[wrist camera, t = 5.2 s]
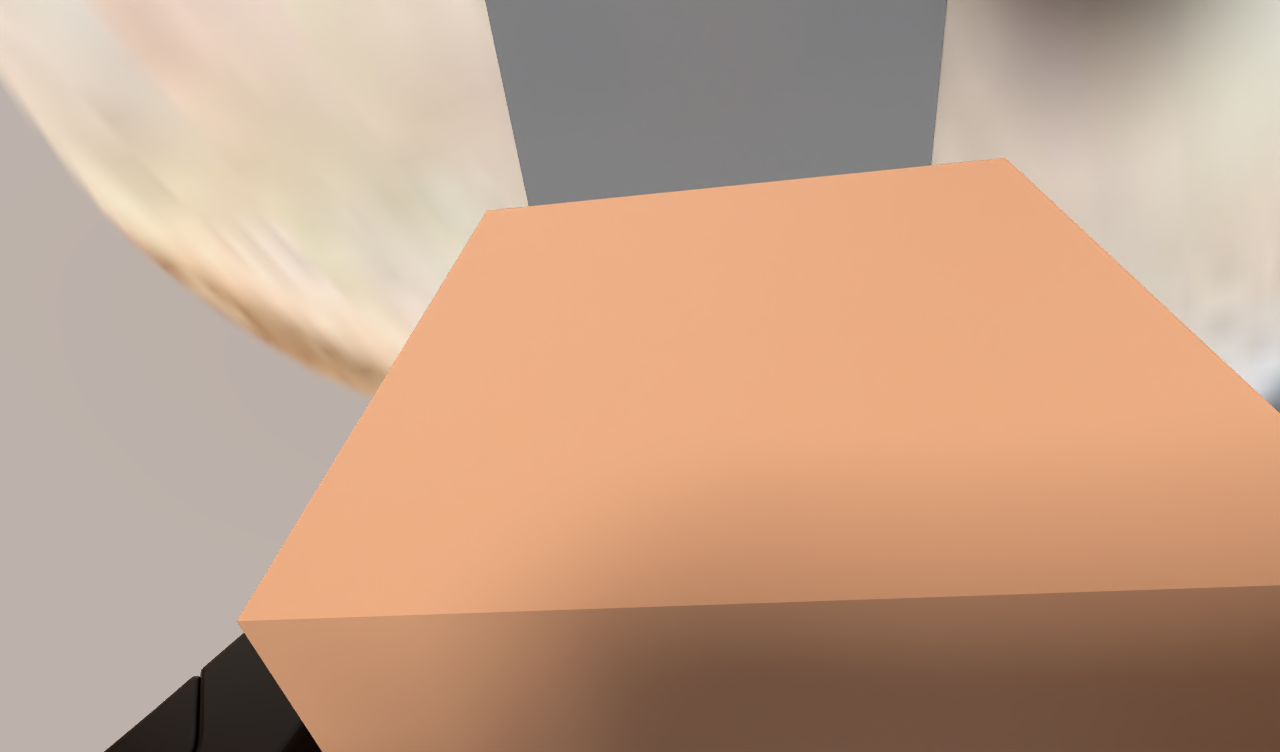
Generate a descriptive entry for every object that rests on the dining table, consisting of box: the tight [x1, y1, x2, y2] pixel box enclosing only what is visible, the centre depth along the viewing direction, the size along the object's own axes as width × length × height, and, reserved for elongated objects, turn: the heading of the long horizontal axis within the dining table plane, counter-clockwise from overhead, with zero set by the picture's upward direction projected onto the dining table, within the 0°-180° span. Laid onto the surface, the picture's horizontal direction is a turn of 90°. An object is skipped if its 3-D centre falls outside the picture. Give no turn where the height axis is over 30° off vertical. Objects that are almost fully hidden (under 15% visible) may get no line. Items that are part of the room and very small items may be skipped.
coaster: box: [485, 0, 947, 206], centre depth 17 cm, size 9×9×1 cm
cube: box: [237, 158, 1280, 752], centre depth 7 cm, size 5×5×5 cm
